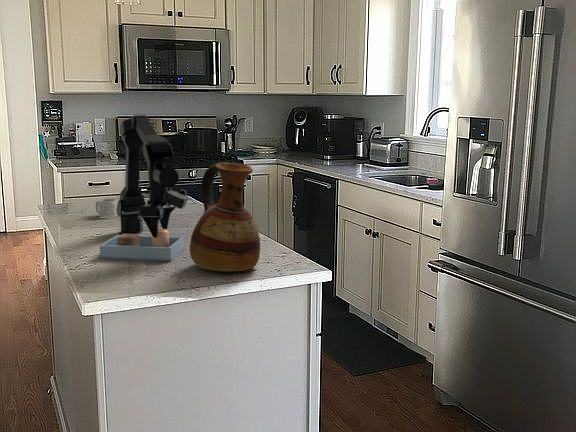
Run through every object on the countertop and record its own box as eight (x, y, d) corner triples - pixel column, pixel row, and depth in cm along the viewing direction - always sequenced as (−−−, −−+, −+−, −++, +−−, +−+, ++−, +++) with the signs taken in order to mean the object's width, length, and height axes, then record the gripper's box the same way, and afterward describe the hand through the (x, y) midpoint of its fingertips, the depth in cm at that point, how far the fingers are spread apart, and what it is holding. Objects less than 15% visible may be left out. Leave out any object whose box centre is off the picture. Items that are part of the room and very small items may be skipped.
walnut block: (118, 253, 191) (117, 237, 190) (124, 249, 196) (123, 233, 195) (134, 254, 191) (133, 237, 190) (139, 249, 196) (139, 234, 195)
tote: (100, 258, 188) (99, 245, 187) (117, 247, 201) (117, 234, 200) (170, 261, 185) (170, 248, 184) (184, 249, 198) (183, 237, 198)
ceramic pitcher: (233, 282, 166) (231, 169, 160) (175, 270, 176) (171, 163, 170) (274, 265, 182) (274, 161, 176) (218, 255, 192) (217, 156, 186)
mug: (121, 216, 248) (120, 199, 247) (107, 219, 242) (107, 202, 241) (103, 213, 253) (102, 197, 252) (90, 216, 248) (89, 199, 246)
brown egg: (150, 254, 190) (149, 231, 189) (155, 250, 195) (154, 228, 194) (166, 255, 190) (165, 232, 188) (171, 251, 194) (170, 228, 193)
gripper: (175, 188, 178) (177, 242, 181) (193, 178, 196) (194, 228, 199) (137, 187, 179) (139, 241, 182) (158, 178, 197) (160, 226, 200)
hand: (160, 234), depth 191 cm, fingers open, 9 cm apart
